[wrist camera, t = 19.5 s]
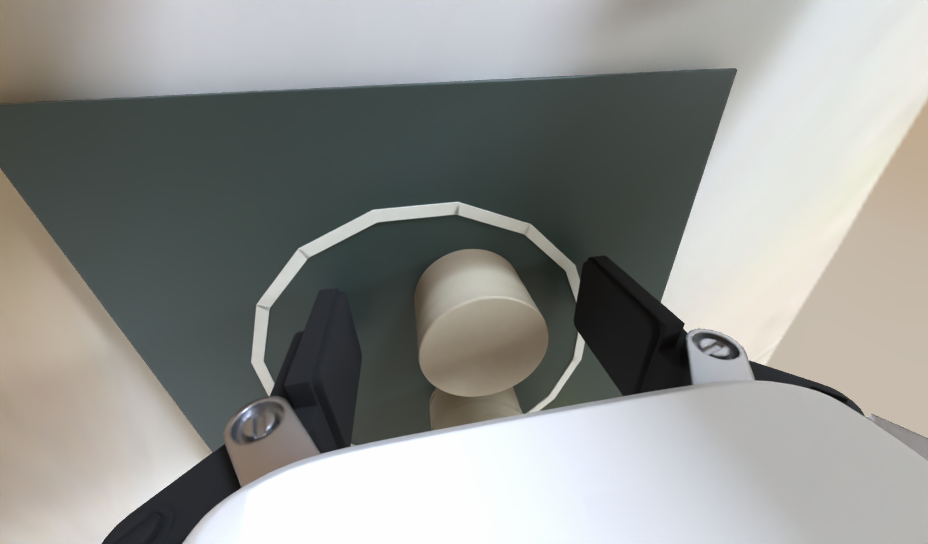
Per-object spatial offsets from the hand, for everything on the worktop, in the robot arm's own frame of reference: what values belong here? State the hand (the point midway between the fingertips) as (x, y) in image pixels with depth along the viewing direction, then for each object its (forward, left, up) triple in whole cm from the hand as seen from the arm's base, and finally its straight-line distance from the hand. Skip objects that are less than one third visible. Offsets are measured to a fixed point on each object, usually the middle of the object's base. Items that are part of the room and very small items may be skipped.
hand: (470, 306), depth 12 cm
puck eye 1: (0, 0, -1) cm, 1 cm away
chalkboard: (+2, -1, -2) cm, 3 cm away
